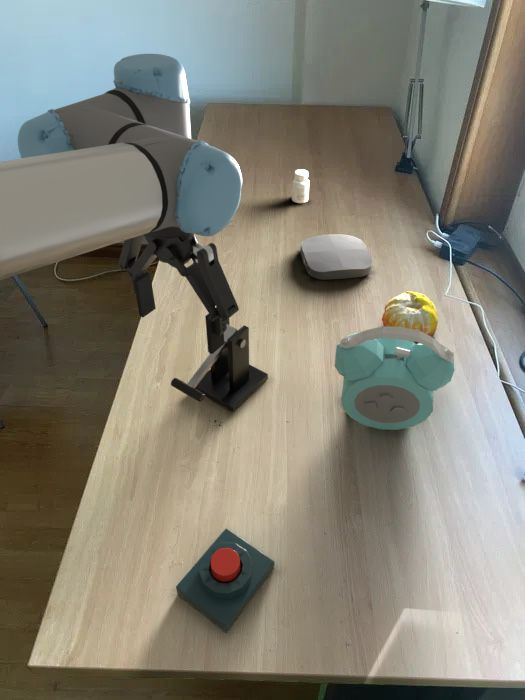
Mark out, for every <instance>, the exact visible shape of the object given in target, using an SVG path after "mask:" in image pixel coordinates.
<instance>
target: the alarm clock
mask: <svg viewBox="0 0 525 700" xmlns="http://www.w3.org/2000/svg"><path fill="white" fill-rule="evenodd" d="M408 340H409V341H408ZM412 341H415V342H419V343H414V342H412ZM335 348H336V349H335V357H334V368H335V369H336V371H337V372H338V374H339V375H341V376H342V377H343V380H342V391H341V404H342V409H343V410H344V412H345V413H346V415H347V416H349V418H350V419H352V420H354V421H356V422H357V423H359V424H361V425H362V426H366V427H370V428H373V429H378V430H387V431H399V430H403V429H404V430H405V429H409V428H413V427H415V426H417V425H419V424H421V423H423V422H425V421H426V420H427V419H428V418H429V417H430V416H431V414H432V413H433V411H434V392H435V391H437V390H439V389H441V388H444V387H445V386H446V385H447V384H449V383H450V382H451V381H452V380H453V379H452V378H453V376H454V374H455V353H454V351H453V349H450V348H448V347H446V346H445V345H443V344H441V343H440V342H439V341H438V340H436V339H435V338H434V337H433V336H429V335H427V334H425V333H423V332H421V331H419V330H414V329H409V328H404V327H388V326H384V325H382V326H378V327H373V328H369V329H365V330H363V331H360V332H355V333H352V334H349V335H345V336H344V337H343V338H341V340H340V342H339V343H338V344H337V345H336V347H335Z"/></svg>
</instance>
